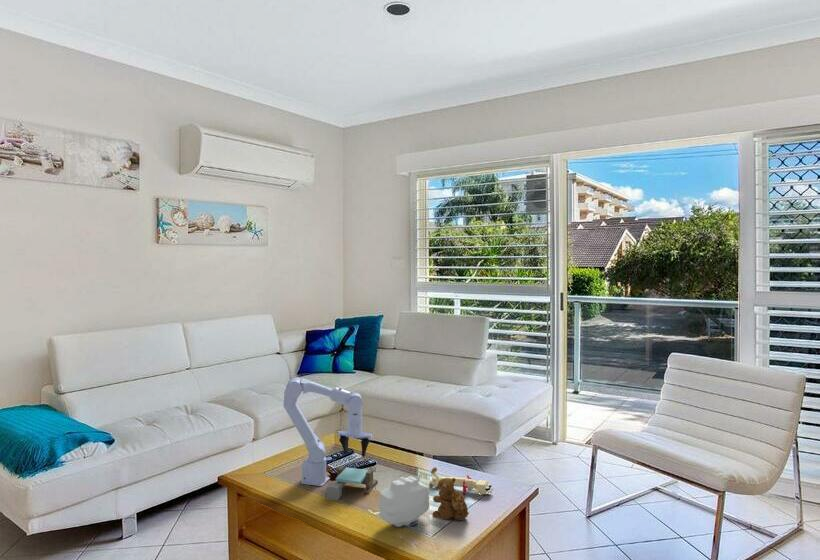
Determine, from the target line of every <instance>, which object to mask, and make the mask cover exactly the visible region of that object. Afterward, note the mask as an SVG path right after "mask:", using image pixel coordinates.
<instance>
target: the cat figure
mask: <svg viewBox="0 0 820 560" xmlns="http://www.w3.org/2000/svg"><path fill="white" fill-rule="evenodd" d="M436 472H438V468H437V467H435V466H434V467H433V468H432V469H431V471H430V473H431V475H432V478H431V479H432V480H431V479H430V480H429V482H428V483H429V485H428V488H433V487H435V488H436V487H437V485H438V482H439V481H440V480H441V479H443V478H450V479H452V478H455V479H456V480H455V482H454V487H458V488H460V487H461V488H462V495H464V494H465V495H466V493H468V490H467V489H470V490H472V491H473V493H475V494H476V495H477V494H479V493H480V494H485V495H487V494H486V492H487V491H489V490H492V491H494V489H491V488H492V485H491V483H489V482H488V481H487V480H484V479H479V480H476V479H472V478H471V477H470V476H469V475H468V474H466V475H465V476H466V477H467V478H466V477H456V476H439V475H438V474H437V473H436ZM437 488H438V487H437ZM492 491H490V493H491V494H492V493H493V492H492ZM488 493H489V492H488Z"/></svg>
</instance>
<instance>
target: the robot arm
mask: <svg viewBox="0 0 820 560" xmlns="http://www.w3.org/2000/svg"><path fill="white" fill-rule="evenodd" d="M283 392H284V393H283V394H284V395H283V408H284V409H285V412H286V413H287V415H288V416H289V418H290V420H291V422H292V423H293V425H294V426H295V428H296V430H297V431H298V433H299V435H300V437H301V438H302V441H303V443H304V444H305V448H306V450H307V452H308V458H305V459H304V460H303V461H302V465H301V482H300V483H301V484H303V485H309V486H310V485H311V486H318V487H323V486H324V485H325V484H327V482H328V481H329V480H330V479H331V477H329V476H327V457H326V456H325V455H326V444H325V443H324V441H322V440H320V438H319V437H318V436H317V435H316V434H315V432H314V431H313V429H312V428H311V425H310V424H309V422H308V421H307V419H306V417H305V415H304V414H303V411H302V410H301V408H300V406H299V405H298V403H297V401H298V398H299V397H300V396H301V394H302V395H305V394H307V393H315V394H319V395H322V396H325V397H329V399H330V401H331V402H335V403H338V404H341V405H345V406H348V412H347V413H348V414H347V416H348V417H347V430H339V431H338V432H337V438H339V439H338V440H339V443H340V444H341V447H342V449H343V453H344V456H347V454H348V453H349V440H350V439H361V441H360V443H361V457H362V458H364V457H365V456H366V453H367V452H366V451H367V448H368V445H369V443H370V441H371V440H372V439H373V434H372V433H368V432H364V431H363V411H362V409H363V408H362V406H363V399H362V398H363V397H362V395H361V394H360V393H358V392H357V391H352V390H350V391H349V390H345V389H343V387H342V386H335V387H333V388H331V387H328V386H326V385H322V384H320V383H318V382H315V381H312V380H309V379H306V378H305V377H304V378H303V377H302V378H301V377H299V376H293V377H291V378H290V379H289V380H288V382H287V384H286V386H285V389H284V391H283ZM302 392H303V393H302Z"/></svg>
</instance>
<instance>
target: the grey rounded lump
mask: <svg viewBox="0 0 820 560" xmlns="http://www.w3.org/2000/svg"><path fill="white" fill-rule="evenodd" d="M420 480H421V473H419V474H418V476H416V477H414V476H412V475H410V476H406V477H403V476H400V477H399V478H398V479H397V480H393V481H392V482H391V483H390V485H389V486H388V487H386V488H385V489H383V490H382V491H381V492H380V493H379V501H378V504H377V506H378V509H379V513H378V514H379V518H381V520H383V521H384V522H385V523H388V524H391V525H394V526H395V527H397V528H401V527H403V526H409V525H410V524H411V523H413V522H414V523H415V522H416V521H417V520H419V518H420V517H421V516H422V515H424V514H425V513H427V512H428V511H429V508H430V496H429V494H430V490H429V486H428V485H426V484H424V483H422V482H421V481H420Z"/></svg>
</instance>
